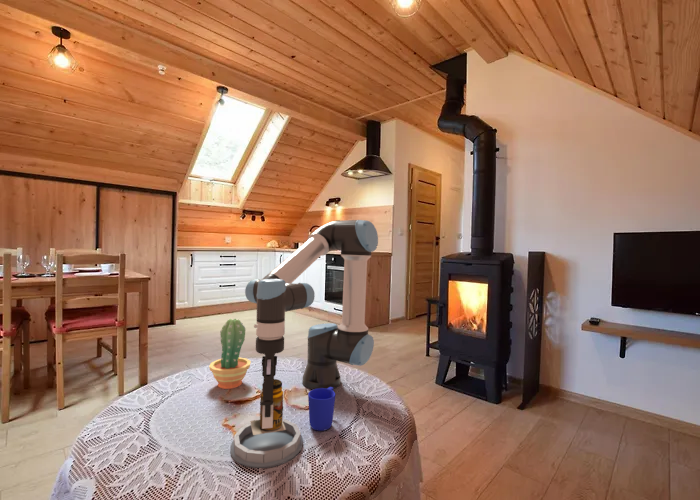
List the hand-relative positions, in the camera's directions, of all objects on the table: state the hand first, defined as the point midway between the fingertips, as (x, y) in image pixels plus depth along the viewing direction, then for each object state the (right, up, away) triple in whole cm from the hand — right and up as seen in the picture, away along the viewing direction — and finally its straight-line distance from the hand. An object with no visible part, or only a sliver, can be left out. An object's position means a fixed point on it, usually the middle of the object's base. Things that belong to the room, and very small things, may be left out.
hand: (268, 420), depth 93 cm
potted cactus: (-24, -6, +40) cm, 47 cm away
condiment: (0, -2, 0) cm, 2 cm away
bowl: (0, -7, 0) cm, 7 cm away
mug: (+14, -7, +13) cm, 20 cm away
